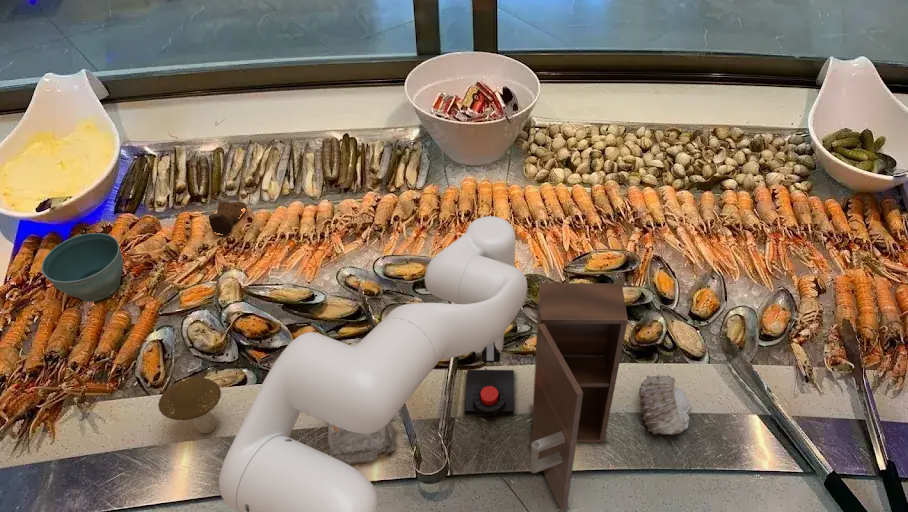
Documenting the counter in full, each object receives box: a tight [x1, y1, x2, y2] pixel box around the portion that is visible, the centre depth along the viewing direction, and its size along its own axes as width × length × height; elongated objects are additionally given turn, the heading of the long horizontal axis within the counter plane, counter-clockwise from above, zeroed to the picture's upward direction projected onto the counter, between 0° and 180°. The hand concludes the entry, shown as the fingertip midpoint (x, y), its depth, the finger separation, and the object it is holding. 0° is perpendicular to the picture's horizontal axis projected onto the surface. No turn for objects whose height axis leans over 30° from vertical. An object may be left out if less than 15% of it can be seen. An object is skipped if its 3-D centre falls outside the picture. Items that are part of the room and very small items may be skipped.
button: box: [481, 386, 498, 406], centre depth 135 cm, size 4×4×2 cm
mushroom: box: [157, 376, 222, 434], centre depth 129 cm, size 9×11×15 cm
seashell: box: [638, 374, 693, 435], centre depth 135 cm, size 14×9×10 cm
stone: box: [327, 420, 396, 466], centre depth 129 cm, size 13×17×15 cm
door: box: [529, 323, 583, 512], centre depth 113 cm, size 7×14×38 cm, turn 22°
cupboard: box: [532, 282, 629, 444], centre depth 122 cm, size 8×14×38 cm, turn 90°
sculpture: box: [208, 200, 248, 238], centre depth 176 cm, size 8×10×15 cm
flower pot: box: [41, 232, 124, 303], centre depth 158 cm, size 16×16×11 cm
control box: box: [464, 369, 515, 417], centre depth 138 cm, size 11×10×4 cm
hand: (491, 358), depth 117 cm, fingers closed
